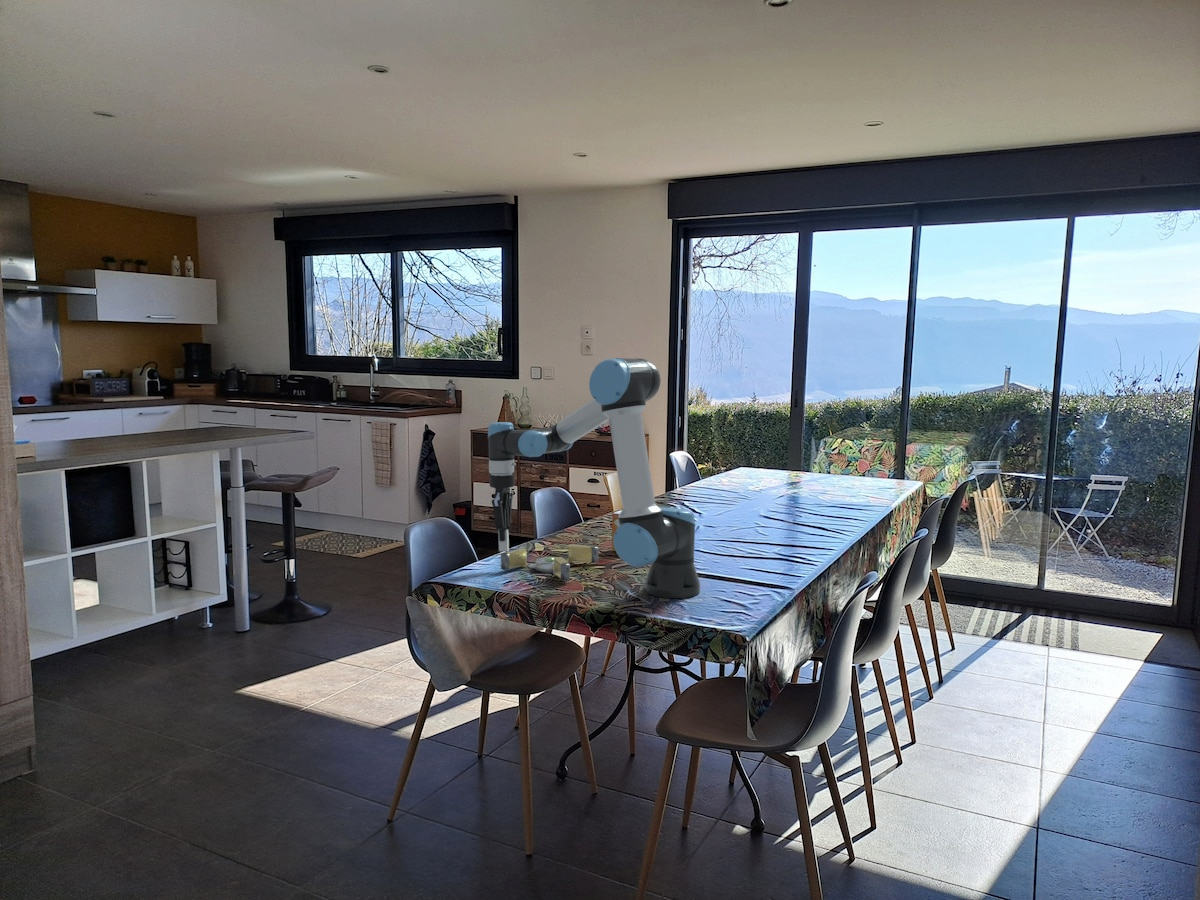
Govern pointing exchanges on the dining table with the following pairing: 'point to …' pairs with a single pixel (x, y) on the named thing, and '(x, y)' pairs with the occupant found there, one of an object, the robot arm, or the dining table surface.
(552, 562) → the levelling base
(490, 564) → the dining table surface
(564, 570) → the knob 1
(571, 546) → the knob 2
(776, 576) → the dining table surface
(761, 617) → the dining table surface
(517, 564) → the yellow and grey block
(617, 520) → the small box
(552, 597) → the dining table surface
